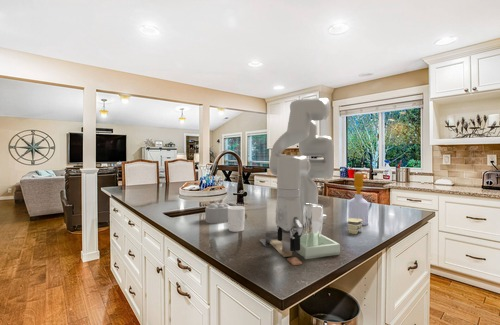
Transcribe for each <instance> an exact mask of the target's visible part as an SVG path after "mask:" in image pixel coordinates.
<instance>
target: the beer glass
mask: <svg viewBox="0 0 500 325" xmlns="http://www.w3.org/2000/svg"><path fill="white" fill-rule="evenodd" d="M323 215H324V205H323V204H322V203H321V204H320V203H318V204H317V203H306V204H304V210H303V222H304V226H303V230H304V234H305V243H304V245H305V246H306V247H311V246H319V245H321V234H322V231H323V225H324V219H323Z"/></svg>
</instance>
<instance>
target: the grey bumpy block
mask: <svg viewBox="0 0 500 325" xmlns="http://www.w3.org/2000/svg"><path fill="white" fill-rule="evenodd" d="M229 206H230V204H228V203H226V202H218V201H217V202H213V203H210V204H209V205H208V206H205V209H204V210H205V214H204V216H205V221H204V222H205V223H207V224H223V223H228V209H227V208H228V207H229Z"/></svg>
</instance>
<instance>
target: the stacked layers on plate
mask: <svg viewBox="0 0 500 325" xmlns="http://www.w3.org/2000/svg"><path fill="white" fill-rule="evenodd" d="M361 221H362V219H356V218H348V217H347V230H348V234H353V235H354V234H355V235H357V234H358V232H359V231H360V230H362V229H363V228H364V227H363V225H362V224H363V223H362V222H361Z"/></svg>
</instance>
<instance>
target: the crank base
mask: <svg viewBox="0 0 500 325" xmlns="http://www.w3.org/2000/svg"><path fill="white" fill-rule="evenodd" d="M258 241H259V242H260V243H261V244H262V245H263V246H264V247H265V248H271V247H273V246H272V245H271V244H270V243H267V242H266V241H265V238H260V239H258ZM281 242H282V241H281ZM286 259H287V261H288V262H289V263H290V264H291V265H292V266H299V265H302V264H303V262H302V261H301V260H300V259H299V258H298V257H288V258H286Z"/></svg>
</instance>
